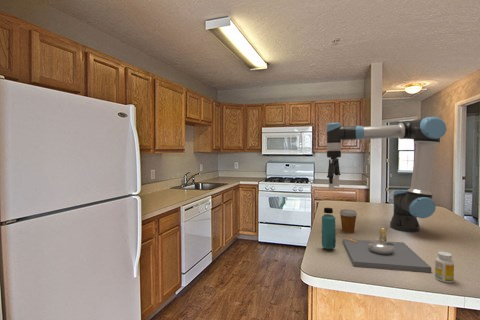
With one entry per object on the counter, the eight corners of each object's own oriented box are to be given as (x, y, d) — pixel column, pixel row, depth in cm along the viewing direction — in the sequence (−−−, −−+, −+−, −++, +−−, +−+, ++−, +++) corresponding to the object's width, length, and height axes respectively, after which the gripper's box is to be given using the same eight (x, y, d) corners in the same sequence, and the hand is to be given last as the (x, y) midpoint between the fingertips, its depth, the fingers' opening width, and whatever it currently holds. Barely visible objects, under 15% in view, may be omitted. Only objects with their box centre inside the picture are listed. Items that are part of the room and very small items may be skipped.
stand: (403, 246, 128) (403, 241, 128) (431, 272, 101) (431, 266, 101) (342, 242, 134) (342, 238, 134) (353, 266, 107) (353, 260, 107)
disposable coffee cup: (358, 234, 147) (358, 213, 146) (340, 233, 149) (340, 212, 148) (354, 229, 156) (355, 209, 156) (338, 228, 158) (338, 208, 158)
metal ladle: (393, 256, 111) (393, 240, 110) (366, 251, 116) (367, 236, 116) (395, 243, 126) (395, 228, 126) (372, 239, 132) (372, 225, 132)
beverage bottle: (334, 253, 121) (334, 210, 120) (319, 250, 124) (319, 208, 124) (337, 248, 126) (337, 207, 126) (323, 246, 130) (323, 206, 129)
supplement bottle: (434, 279, 95) (434, 253, 95) (436, 274, 99) (436, 249, 99) (453, 284, 92) (453, 257, 91) (454, 279, 96) (454, 253, 95)
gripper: (331, 150, 160) (332, 184, 161) (321, 150, 139) (321, 190, 140) (344, 150, 156) (345, 185, 157) (336, 150, 135) (336, 191, 136)
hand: (334, 188), depth 148 cm, fingers open, 13 cm apart
